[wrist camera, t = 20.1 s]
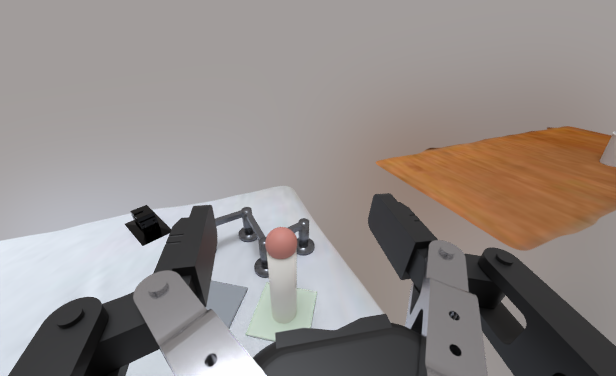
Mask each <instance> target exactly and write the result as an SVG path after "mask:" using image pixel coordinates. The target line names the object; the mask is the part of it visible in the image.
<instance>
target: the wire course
mask: <svg viewBox="0 0 616 376" xmlns="http://www.w3.org/2000/svg"><path fill="white" fill-rule="evenodd" d="M241 217H242V219H243V226H244V228H242V229H241V230H240V231H239V238H240V239H241V240H242V241H244V242H251V241H254V240H256V239H257V238H258V240H259V250H260V259H258V260H257V261H256V263H255V266H254V267H255V272H256V274H257V275H258V276H260V277H264V278H266V277H269V272H268V261H267V250H266V247H265V241H266V238H267V237H265V236H264V234H263V232H262V231H261V229H260V227H259V226H258V224H257V222H256V221H255V219H254V217H253V216H252V210H251V208H250V207H244V208H243V209H242V210H241V211H238V212H234V213H231V214H228V215H225V216H222V217H219V218H216V219H215V224H216V226H218V225H221V224H224V223H227V222H230V221H233V220H236V219H239V218H241ZM288 229H290V230H291V231H292V232H293V233H295V232H297V231H299V238H298V239H297V254H299V255H308V254H310V253H312V252H313V250H314V242H313V241H312V240H311V239H309V220H308V219H304V218H303V219H300V220H299V223H296V224H294V225H292V226H290V227H288ZM215 253H216V252H215Z"/></svg>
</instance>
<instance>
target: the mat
mask: <svg viewBox="0 0 616 376" xmlns="http://www.w3.org/2000/svg"><path fill="white" fill-rule="evenodd" d="M247 289H248V288H247V287H242V286H237V285H232V284H227V283H221V282H216V281H211V282H210V289H209V295H208V301H207V307H205V308H206V309H207V310H209V309H212V310H213V311H214V312H215V313H216V314H217V315H218V316H219V318H220V319H221V320H222V321H223V323H224V324H225V325H226V326H227V327H228V329H229V328H230V325H231V323H232V321H233V319H234V317H235V315H236V313H237V311H238V308H239V306H240V304H241V302H242V300H243V298H244V296H245V294H246V291H247Z"/></svg>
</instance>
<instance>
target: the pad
mask: <svg viewBox="0 0 616 376" xmlns="http://www.w3.org/2000/svg"><path fill="white" fill-rule="evenodd" d="M316 295H317V292H316V291H310V290H305V289H300V288H297V312H296V316H295V318H294V319H293V320H292V321H291V322H289V323H285V324H282V323H278V322H277V321H275V320H274V318H273V316H272V307H271V295H270V284H269V283H267V282H266V285H265V287H264V290H263V292H262V295H261V297H260V300H259V302H258V305H257V307H256V309H255V312H254V314H253V317H252V319H251V322H250V324H249V327H248V329H247V332H246V335H247V336H252V337H256V338H261V339H265V340H270V341H274V342H275V333H276V332H282V331H288V330H294V329H299V328H311V322H312V317H313V312H314V306H315V301H316Z"/></svg>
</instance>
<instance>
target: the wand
mask: <svg viewBox="0 0 616 376" xmlns="http://www.w3.org/2000/svg"><path fill="white" fill-rule="evenodd" d="M265 247H266V250H267V261H268V272H269V284H270V295H271V307H272V316H273V318H274V320H275V321H277V322H278V323H282V324H285V323H289V322H291V321H292V320H293V319H294V318H295V316H296V312H297V238H296V236H295V234H294V233H293V232H292V231H291V230H290V229H288V228H285V227H278V228H275V229H273V230H272V231H271V232H270V233H269V234H268V236H267V238H266V241H265Z"/></svg>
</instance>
